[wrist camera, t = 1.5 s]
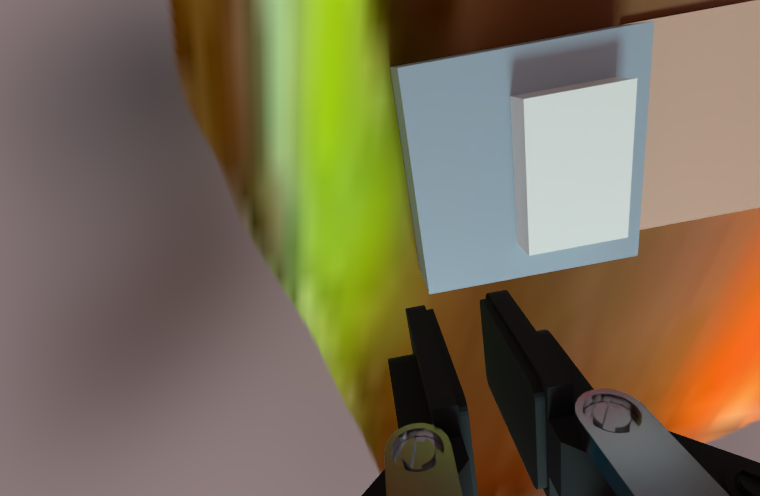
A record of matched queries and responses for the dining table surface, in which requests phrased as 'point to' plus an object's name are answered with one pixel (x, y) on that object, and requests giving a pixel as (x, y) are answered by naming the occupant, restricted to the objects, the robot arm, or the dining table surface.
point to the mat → (703, 115)
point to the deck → (501, 150)
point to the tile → (573, 163)
